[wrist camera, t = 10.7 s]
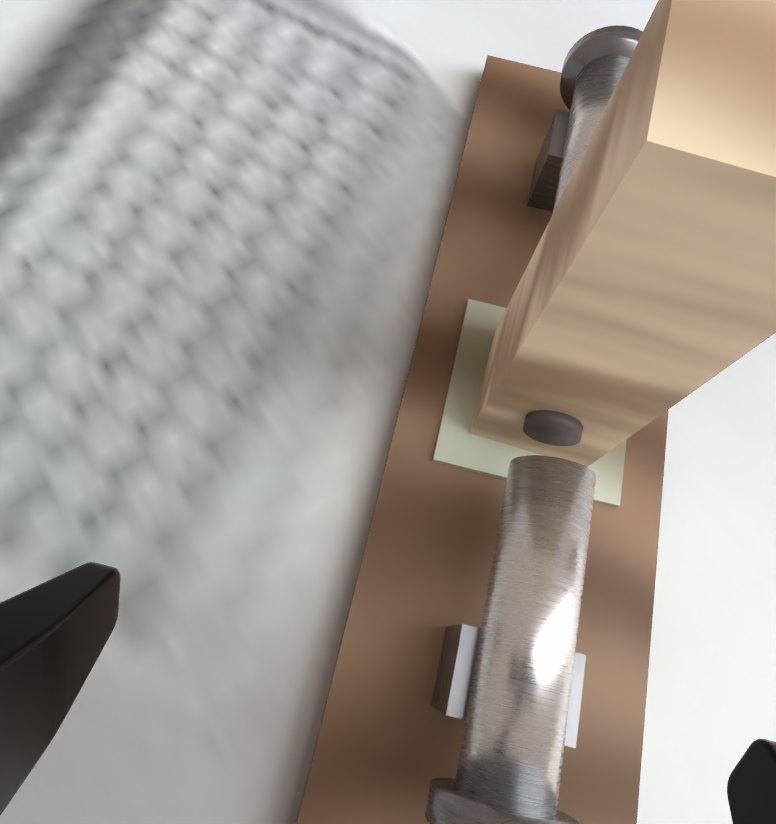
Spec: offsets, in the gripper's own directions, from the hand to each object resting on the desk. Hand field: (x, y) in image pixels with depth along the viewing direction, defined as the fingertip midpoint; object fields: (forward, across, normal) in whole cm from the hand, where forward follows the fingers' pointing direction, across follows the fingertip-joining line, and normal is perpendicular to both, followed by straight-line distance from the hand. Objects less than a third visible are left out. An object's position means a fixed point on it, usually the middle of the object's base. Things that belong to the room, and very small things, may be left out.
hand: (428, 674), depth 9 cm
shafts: (+16, -4, +1) cm, 16 cm away
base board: (+17, -4, +2) cm, 17 cm away
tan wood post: (+16, -4, +1) cm, 16 cm away
